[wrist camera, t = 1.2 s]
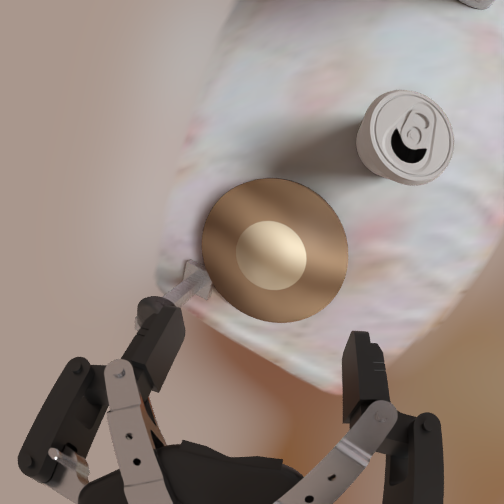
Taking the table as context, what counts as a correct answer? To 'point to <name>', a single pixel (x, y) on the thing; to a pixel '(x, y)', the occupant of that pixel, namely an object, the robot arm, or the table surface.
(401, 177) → the beverage can
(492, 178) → the table surface
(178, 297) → the stand
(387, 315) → the table surface
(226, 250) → the disc
